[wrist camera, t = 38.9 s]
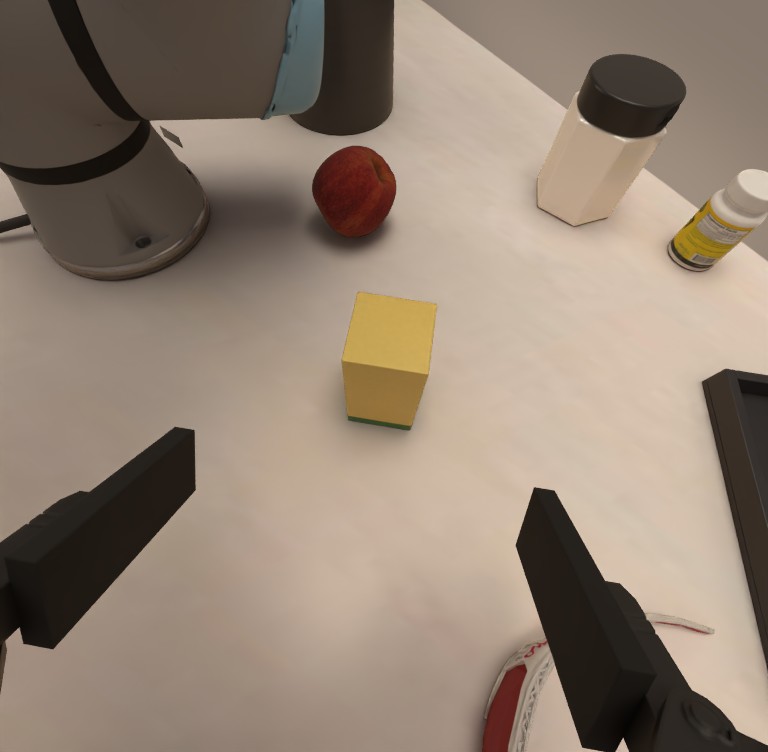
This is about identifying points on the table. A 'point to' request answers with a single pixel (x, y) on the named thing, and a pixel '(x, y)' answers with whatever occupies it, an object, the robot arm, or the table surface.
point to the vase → (354, 68)
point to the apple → (354, 190)
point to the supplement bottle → (722, 221)
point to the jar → (607, 136)
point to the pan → (745, 471)
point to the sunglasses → (532, 691)
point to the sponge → (387, 359)
